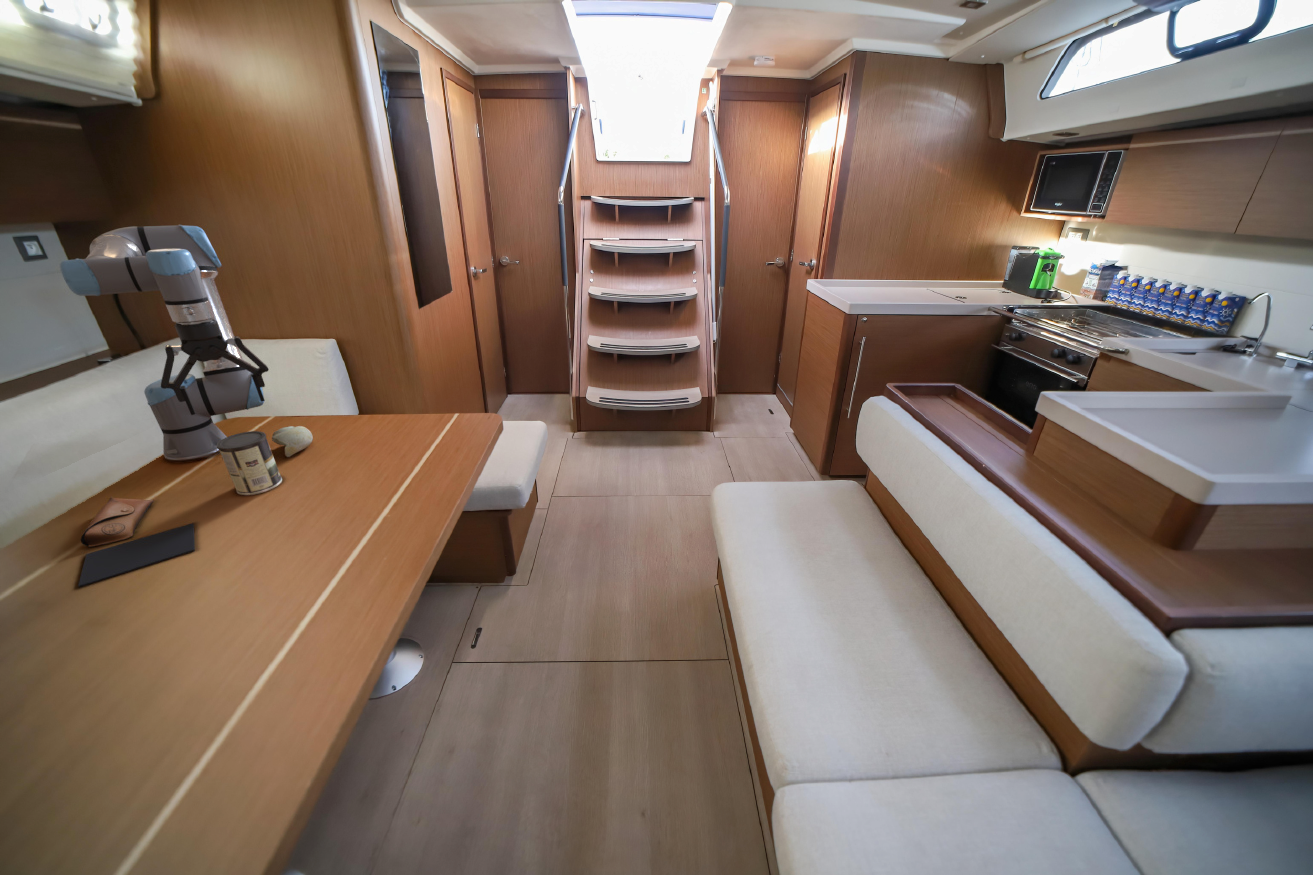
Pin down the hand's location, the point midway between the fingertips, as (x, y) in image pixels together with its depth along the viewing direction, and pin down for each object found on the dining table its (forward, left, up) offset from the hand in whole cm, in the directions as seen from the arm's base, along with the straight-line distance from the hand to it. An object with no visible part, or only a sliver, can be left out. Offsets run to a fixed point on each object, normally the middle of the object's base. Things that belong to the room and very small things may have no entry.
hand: (229, 406), depth 124 cm
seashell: (-21, +11, -24) cm, 34 cm away
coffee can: (-2, 0, -24) cm, 24 cm away
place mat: (+16, -23, -24) cm, 37 cm away
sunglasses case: (-2, -27, -24) cm, 37 cm away
